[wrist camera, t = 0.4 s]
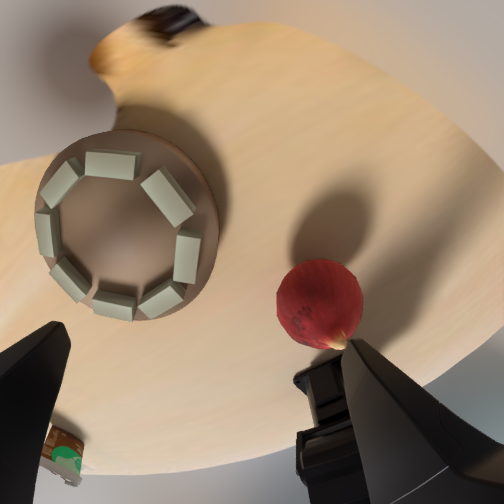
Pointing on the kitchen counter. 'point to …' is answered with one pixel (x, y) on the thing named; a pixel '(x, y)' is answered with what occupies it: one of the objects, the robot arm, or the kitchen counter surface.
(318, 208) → the kitchen counter surface
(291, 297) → the pomegranate
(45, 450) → the food container
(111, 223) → the display stand
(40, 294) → the kitchen counter surface
